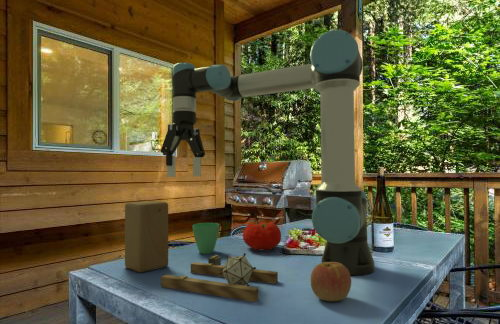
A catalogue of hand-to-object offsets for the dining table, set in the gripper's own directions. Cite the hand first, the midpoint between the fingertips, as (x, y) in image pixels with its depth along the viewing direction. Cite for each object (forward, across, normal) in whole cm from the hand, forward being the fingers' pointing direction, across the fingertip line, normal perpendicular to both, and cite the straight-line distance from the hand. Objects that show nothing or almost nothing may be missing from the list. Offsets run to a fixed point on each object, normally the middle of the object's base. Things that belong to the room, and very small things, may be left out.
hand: (184, 176), depth 106 cm
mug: (+28, -16, -4) cm, 33 cm away
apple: (+28, +12, +49) cm, 58 cm away
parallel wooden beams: (+28, +12, +21) cm, 37 cm away
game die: (+28, +13, +26) cm, 40 cm away
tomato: (+28, -28, +15) cm, 42 cm away
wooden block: (+28, +9, -8) cm, 30 cm away
